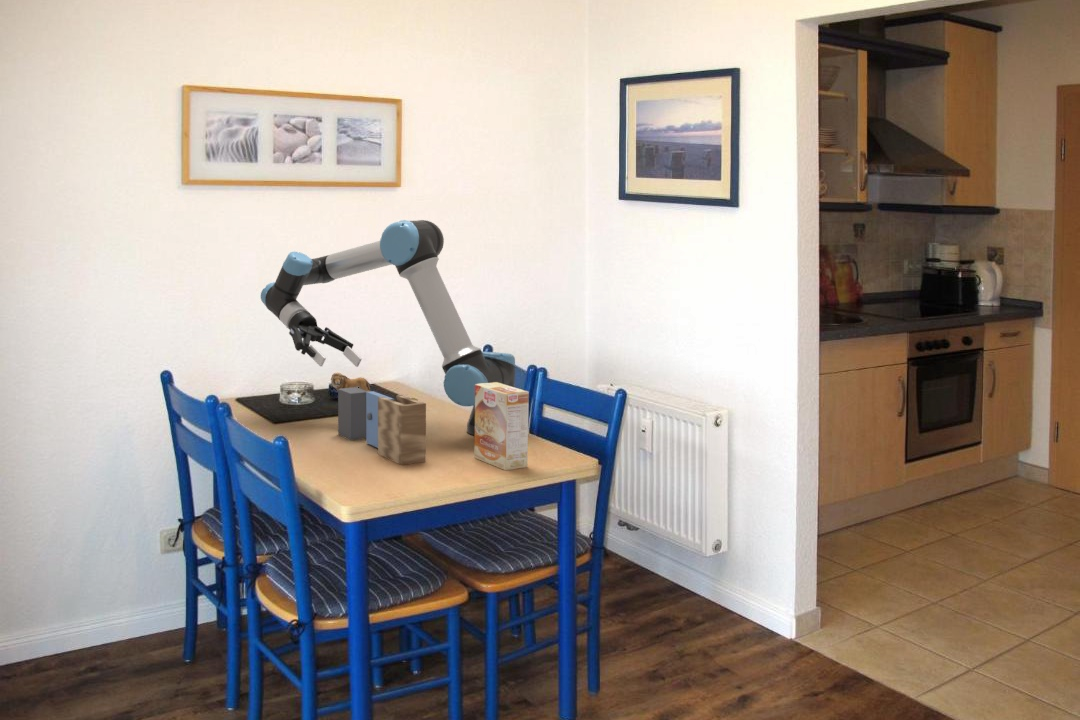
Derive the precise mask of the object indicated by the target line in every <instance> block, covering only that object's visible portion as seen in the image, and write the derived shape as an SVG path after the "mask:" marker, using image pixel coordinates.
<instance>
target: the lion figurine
mask: <svg viewBox="0 0 1080 720" xmlns="http://www.w3.org/2000/svg"><path fill="white" fill-rule="evenodd" d="M330 381H331V382H330V383H331V386H332V387H333V388H334V389H335V390H336V391H337V392H338V389H342V388H352V387H357V388H358V387H359V388H360V389H363V390H365V391H368V392H370V391H371V387H370V384H369V381H368V380H367V378H365V377H356V378H350V377H349V378H348V376H346V375H344V374H342V373H340V372H334V373H333V374H332V375H331V378H330Z"/></svg>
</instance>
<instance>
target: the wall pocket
mask: <svg viewBox="0 0 1080 720" xmlns="http://www.w3.org/2000/svg"><path fill="white" fill-rule="evenodd" d="M395 397H396V398H395V399H396V400H394V401H393V400H391V399H388V398H385V397H378V448H377V453H378V455H379V456H381V457H383V458H386V459H387V460H390V461H392V462H393V463H397V464H399V465H401V466H405V465H410V464H417V463H425V462H426V461H427V456H426V455H427V453H426V452H427V448H426V447H427V403H425V402H422V401H421V400H418V399H417V400H418V401H417V400H414V399H412V398H413V397H411V398H410V397H408V396H406V395H404V394H403V395H402V394H399V395H398V394H397V395H395Z"/></svg>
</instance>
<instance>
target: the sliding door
mask: <svg viewBox="0 0 1080 720" xmlns="http://www.w3.org/2000/svg"><path fill="white" fill-rule="evenodd" d="M378 397H385V398H388V399H391V400H393V401H395V398H392V397H390V396H387V395H385V394H382V393H380V392H377V391H374V390H373V391H372V390H370V392H366V442H365V443H366V444H369V445H370V446H373V447H374V448H377V449H378Z"/></svg>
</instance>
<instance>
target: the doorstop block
mask: <svg viewBox="0 0 1080 720" xmlns="http://www.w3.org/2000/svg"><path fill="white" fill-rule="evenodd" d="M366 392H368V391H365V390H363V389H360V388H357V387H352V388H342V389H338V391H337V402H338V403H337V407H338V408H337V409H338V410H337V412H338V413H337V415H338V416H337V417H338V419H337V421H338V422H337V423H338V424H337V425H338V427H337V428H338V429H337V430H338V431H337V432H338V435H339V436H340V437H342V438H344V439H346V440H349V441H357V440H365V439H366ZM338 435H337V436H338Z"/></svg>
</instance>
